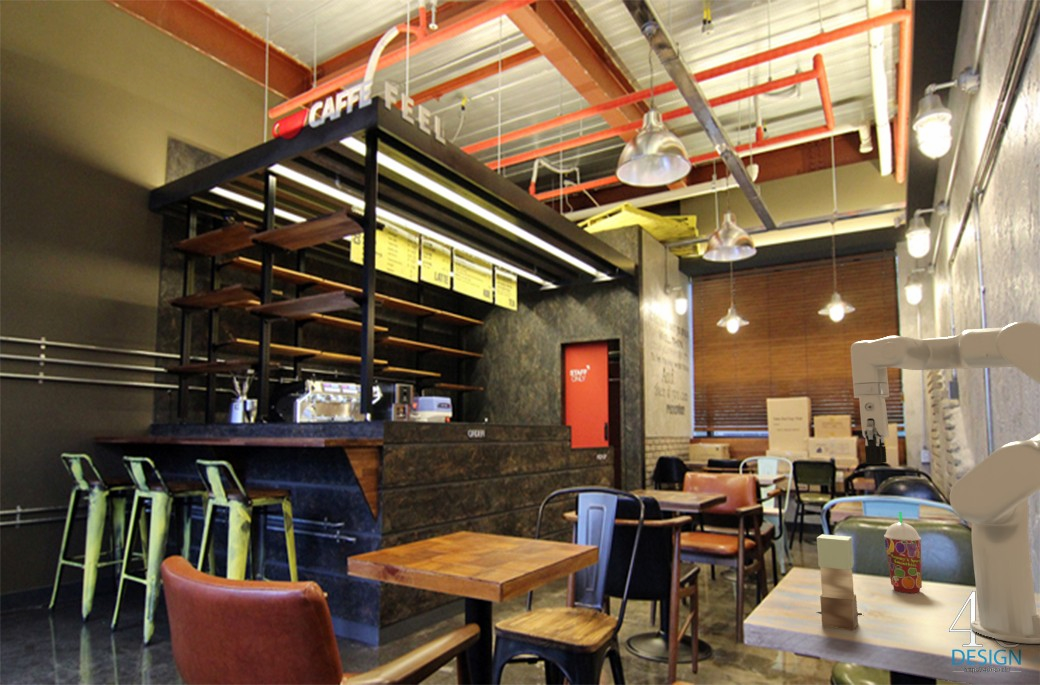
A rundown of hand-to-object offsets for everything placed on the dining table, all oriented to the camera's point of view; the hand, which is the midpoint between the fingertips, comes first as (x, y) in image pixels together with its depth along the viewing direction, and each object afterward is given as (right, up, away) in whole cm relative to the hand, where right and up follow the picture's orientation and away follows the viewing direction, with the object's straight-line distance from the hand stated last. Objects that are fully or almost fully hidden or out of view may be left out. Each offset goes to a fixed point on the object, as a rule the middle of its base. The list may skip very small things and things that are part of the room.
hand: (876, 463), depth 152 cm
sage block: (-17, -19, -15) cm, 30 cm away
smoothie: (+15, -36, +12) cm, 41 cm away
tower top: (-17, -25, -16) cm, 35 cm away
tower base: (-17, -31, -17) cm, 40 cm away
